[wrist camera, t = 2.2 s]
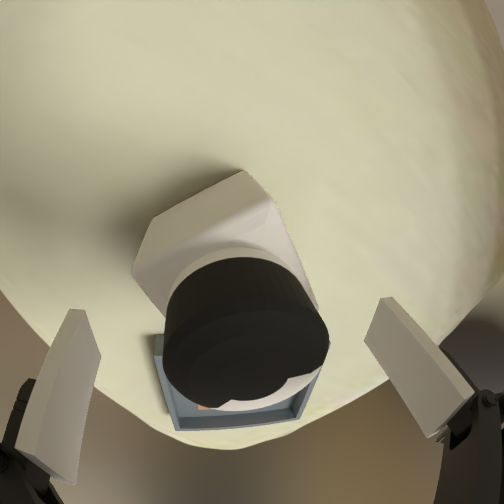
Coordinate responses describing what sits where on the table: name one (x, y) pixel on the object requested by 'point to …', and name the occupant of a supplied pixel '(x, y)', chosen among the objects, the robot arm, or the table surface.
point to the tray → (203, 418)
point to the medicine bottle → (231, 298)
